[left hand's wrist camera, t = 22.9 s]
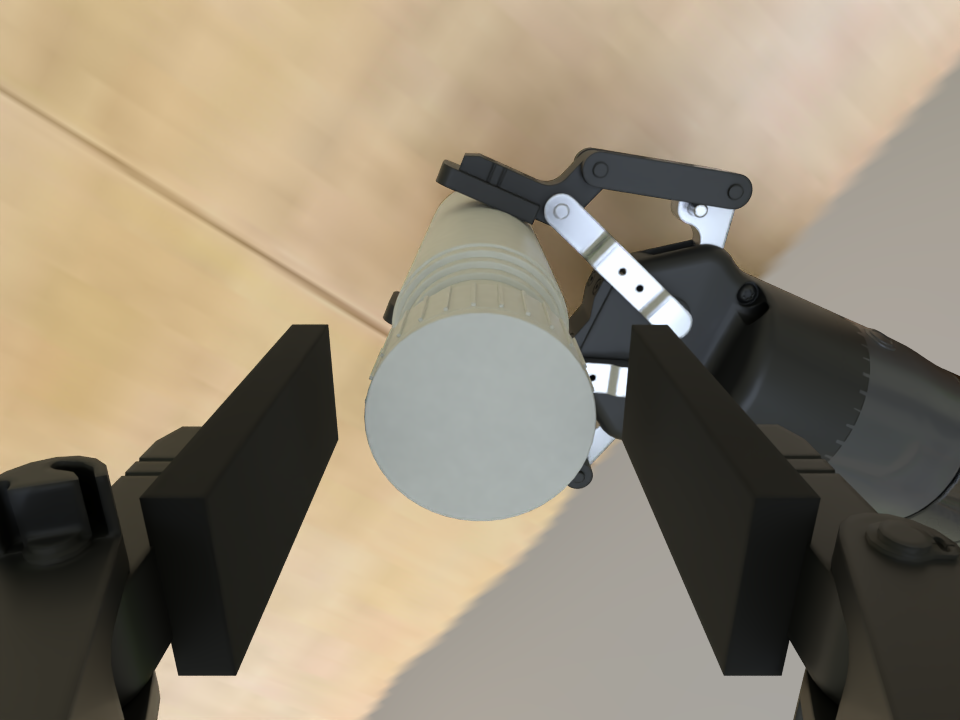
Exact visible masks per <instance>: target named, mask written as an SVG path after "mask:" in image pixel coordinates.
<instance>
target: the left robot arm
mask: <svg viewBox="0 0 960 720" xmlns="http://www.w3.org/2000/svg"><path fill="white" fill-rule="evenodd" d="M337 441H338V430H337V418H336V407H335V396H334V385H333V373H332V362H331V351H330V339H329V328H328V325H292V326H291V327H290V328H289V329H288V330H287V331H286V332H285V333H284V335H283V336H282V337H281V338H280V339H279V340H278V341H277V343H276V344H275V345H274V346H273V347H272V348H271V349H270V350H269V352H268V353H267V354H266V355H265V356H264V357H263V358H262V359H261V361H260V362H259V363H258V364H257V365H256V366H255V367H254V369H253V370H252V371H251V372H250V373H249V374H248V375H247V376H246V378H245V379H244V380H243V381H242V382H241V383H240V384H239V386H238V387H237V388H236V389H235V390H234V391H233V392H232V393H231V395H230V396H229V397H228V398H227V399H226V400H225V401H224V403H223V404H222V405H221V406H220V407H219V408H218V409H217V410H216V412H215V413H214V414H213V415H212V416H211V417H210V418H209V419H208V421H207V422H206V423H205V424H204V425H203V426H202V427H181V428H179V429H177V430H175V431H174V432H172V433H170V434H168V435H166V436H165V437H163V438H161V439H159V440H157V441H156V442H155V443H154V444H153V445H152V446H151V447H150V448H149V449H148V450H147V451H146V452H145V453H144V454H143V455H142V456H141V457H140V458H139V462H138V461H136V462H135V463H134V464H133V465H132V466H131V467H130V468H129V469H128V470H127V471H126V472H125V476H121V477H120V478H119V479H118V480H117V481H116V482H115V483H114V484H113V485H112V486H111V484H110V479H109V475H108V471H107V467H106V465H105V464H104V463H102V462H101V461H99V460H98V459H96V458H90V457H83V456H68V457H55V458H50V459H45V460H41V461H36V462H31V463H28V464H26V465H23V466H20V467H17V468H14V469H12V470H9V471H6V472H4V473H2V474H1V475H0V720H157V717H158V710H159V704H160V693H159V686H158V681H157V677H156V673H155V669H156V667H157V665H158V664H159V662H160V660H161V659H162V657H163V655H164V653H165V652H166V650H167V648H168V647H169V645H170V643H171V644H172V649H173V653H174V658H175V662H176V667H177V671H178V676H236V675H237V672H238V670H239V668H240V665H241V663H242V661H243V658H244V656H245V654H246V651H247V649H248V647H249V644H250V642H251V640H252V638H253V635H254V633H255V631H256V628H257V626H258V624H259V621H260V619H261V617H262V614H263V612H264V610H265V608H266V605H267V603H268V601H269V598H270V596H271V594H272V591H273V589H274V587H275V584H276V582H277V580H278V578H279V575H280V573H281V571H282V568H283V566H284V564H285V561H286V559H287V557H288V554H289V552H290V550H291V547H292V545H293V543H294V541H295V538H296V536H297V534H298V531H299V529H300V527H301V524H302V522H303V520H304V517H305V515H306V513H307V511H308V508H309V506H310V504H311V501H312V499H313V497H314V494H315V492H316V490H317V487H318V485H319V483H320V481H321V478H322V476H323V474H324V471H325V469H326V467H327V464H328V462H329V460H330V457H331V455H332V453H333V450H334V448H335V446H336V444H337ZM622 441H623V444H624V446H625V448H626V450H627V453H628V455H629V457H630V460H631V462H632V464H633V467H634V469H635V471H636V474H637V476H638V478H639V480H640V483H641V485H642V487H643V490H644V492H645V494H646V497H647V499H648V501H649V504H650V506H651V508H652V510H653V513H654V515H655V517H656V520H657V522H658V524H659V527H660V529H661V531H662V534H663V536H664V538H665V540H666V543H667V545H668V547H669V550H670V552H671V554H672V557H673V559H674V561H675V564H676V566H677V568H678V571H679V573H680V575H681V577H682V580H683V582H684V584H685V587H686V589H687V591H688V594H689V596H690V598H691V600H692V603H693V605H694V607H695V610H696V612H697V614H698V617H699V619H700V621H701V624H702V626H703V628H704V631H705V633H706V635H707V638H708V640H709V642H710V644H711V647H712V649H713V651H714V654H715V656H716V658H717V661H718V663H719V665H720V668H721V670H722V672H723V674H724V676H781V675H782V671H783V667H784V662H785V658H786V653H787V649H788V644H789V640H790V641H791V643H792V645H793V646H794V648H795V650H796V652H797V653H798V655H799V657H800V658H801V660H802V662H803V663H804V665H805V667H806V669H805V673H804V677H803V681H802V686H801V690H800V694H799V698H798V702H797V707H796V711H795V715H794V719H793V720H960V547H959V546H958V545H957V544H956V543H955V542H954V541H952V540H951V539H949V538H948V537H946V536H945V535H943V534H941V533H940V532H938V531H937V530H935V529H933V528H930V527H928V526H925V525H923V524H921V523H918V522H916V521H914V520H910V519H906V518H902V517H898V516H894V515H890V514H881V513H878V512H877V511H876V510H875V509H874V508H873V507H872V506H871V505H870V504H869V503H868V502H867V501H866V500H865V499H864V498H863V497H862V496H861V495H860V494H859V493H858V492H857V491H856V490H855V489H854V488H853V487H852V486H851V485H850V484H849V483H848V482H847V481H846V480H845V479H844V478H843V477H842V476H841V475H840V474H836V473H835V469H834V468H833V467H832V466H831V465H830V464H829V463H828V462H827V461H826V460H825V459H821V455H820V454H819V453H818V452H817V451H816V450H815V449H814V448H813V447H812V446H811V445H810V444H809V443H808V442H807V441H806V440H805V439H804V438H802V437H800V436H798V435H796V434H795V433H793V432H791V431H789V430H787V429H785V428H784V427H782V426H780V425H778V424H755V423H754V422H753V421H752V419H751V418H750V417H749V416H748V415H747V414H746V413H745V412H744V410H743V409H742V408H741V407H740V406H739V405H738V404H737V402H736V401H735V400H734V399H733V398H732V397H731V396H730V395H729V393H728V392H727V391H726V390H725V389H724V388H723V387H722V386H721V384H720V383H719V382H718V381H717V380H716V379H715V378H714V376H713V375H712V374H711V373H710V372H709V371H708V370H707V369H706V367H705V366H704V365H703V364H702V363H701V362H700V361H699V359H698V358H697V357H696V356H695V355H694V354H693V353H692V352H691V350H690V349H689V348H688V347H687V346H686V345H685V344H684V342H683V341H682V340H681V339H680V338H679V337H678V336H677V335H676V333H675V332H674V331H673V330H672V329H671V328H670V327H669V326H668V325H632V328H631V339H630V351H629V362H628V373H627V385H626V396H625V407H624V418H623V430H622Z"/></svg>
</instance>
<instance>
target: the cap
mask: <svg viewBox="0 0 960 720" xmlns="http://www.w3.org/2000/svg"><path fill="white" fill-rule="evenodd" d="M586 368H587V365H586V363H585V360H584V358H583V356H582V353H581V351H580V348H579V346H578V344H577V341H576V339H575V337H574V338H571V336H570V334H569V332H568V330H567V327H566V325H565V322H564V320H563V319H562V318H561V319H559V318H558V317H557V316H556V315H555V314H554V313H553V312H552V311H551V310H550V309H549V308H548V306H547V304H546V303H545V302H543V303H541V302H539V301H538V300H536V299H534V298H532V297H531V296H529V295H527V294H526V292H525V291H524V290H522V291H521V292H520V291H517V290H515V289H511V288H507V287H503V286H502V285H501V284H500V283H497V285H490V284H476V282H472V284H471V285H463V286H457V287H454V288H452V287H451V286H448V287H447V289H446V290H444V291H441V292H439V293H436V294H434V295H432V296H430V297H429V296H428V295H427V296H425V297H424V300H423V301H422V302H420V303H419V304H418V305H416V306H415V307H414V308H412V309H411V310H410V311H409V310H408V309H407V310H406V311H405V313H404V316H403V318H402V319H401V321H400V322H399V323H398V325H397V326H396V327H395V329H394V328H393V327H392V328H391V330H390V332H389V334H388V337H387V339H386V342H385V344H384V346H383V348H382V349H381V351H380V353H379V356H378V358H377V361H376V363H375V365H374V368H373V370H372V372H371V375H370V378H369V379H370V380H372V381H371V384H370V386H369V389H368V393H367V397H366V399H365V416H364V418H365V431H366V435H367V439H368V444H369V446H370V449H371V452H372V454H373V457H374V459H375V460H376V462H377V464H378V466H379V468H380V469H381V471H382V472H383V473H384V475H385V476H386V478H387V479H388V480H389V481H390V482H391V483H392V484H393V485H394V486H395V487H396V489H397V490H399V491H400V492H401V493H402V494H404V495H405V496H406V497H407V498H408V499H410V500H412V501H413V502H415V503H416V504H418V505H420V506H421V507H424V508H426V509H428V510H430V511H432V512H435V513H438V514H440V515H443V516H446V517H451V518H455V519H460V520H470V521H492V520H500V519H506V518H510V517H514V516H518V515H521V514H523V513H526V512H529V511H531V510H533V509H535V508H537V507H539V506H541V505H543V504H545V503H546V502H548V501H549V500H551V499H552V498H554V497H555V496H556V495H557V494H559V493H560V492H561V491H562V490H563V489H565V487H566V486H567V485H568V484H569V483H570V482H571V481H572V480H573V479H574V478H575V476H576V475H577V473H578V472H579V471H580V469H581V468H582V466H583V464H584V462H585V460H586V458H587V456H588V454H589V452H590V449H591V446H592V443H593V439H594V434H595V430H596V404H595V398H594V394H593V392H594V391H595V390H594V386H593V384H592V382H591V379H590V377H589V374H588V372H587V369H586Z"/></svg>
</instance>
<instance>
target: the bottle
mask: <svg viewBox="0 0 960 720" xmlns="http://www.w3.org/2000/svg"><path fill="white" fill-rule="evenodd" d="M472 282H476V284H490V285H497V283H500V284H501V285H502V286H503V287H507V288H511V289H515V290H517V291H520V292H521V291H522V290H524V291H525V292H526V294H527V295H529V296H531V297H532V298H534V299H536V300H538V301H539V302H541V303H543V302H545V303H546V304H547V306H548V308H549V309H550V310H551V311H552V312H553V313H554V314H555V315H556V316H557V317H558V318H559V319H561V318H562V319H563V320H564V322H565V325H566V327H567V330H568V332H569V318H568V312H567V307H566V304H565V300H564V297H563V295H562V293H561V291H560V288H559V286H558V284H557V282H556V279H555V277H554V275H553V273H552V271H551V268H550V266H549V264H548V262H547V259H546V257H545V255H544V253H543V250H542V248H541V246H540V244H539V241H538V239H537V237H536V235H535V233H534V230H533V228H532V226H531V224H529V223H527V222H525V221H522V220H520V219H518V218H516V217H513V216H512V215H510V214H508V213H505V212H502V211H500V210H497V209H495V208H493V207H491V206H488V205H486V204H484V203H481V202H479V201H477V200H475V199H472V198H470V197H468V196H465V195H463V194H461V193H459V192H456V191H455V192H454V193H452V194H451V195H449V196H448V197H447V198H446V199H445V200H444V201H443V202H442V203H441V204H440V206H439V207H438V209H437V211H436V213H435V215H434V217H433V219H432V221H431V224H430V226H429V228H428V230H427V233H426V235H425V237H424V239H423V241H422V244H421V246H420V248H419V250H418V253H417V255H416V257H415V259H414V262H413V264H412V266H411V268H410V270H409V273H408V275H407V277H406V279H405V282H404V284H403V286H402V288H401V290H400V293H399V295H398V297H397V300H396V303H395V307H394V311H393V318H392V327H393V328H394V329H395V327H396V326H397V325H398V323H399V322H400V321H401V319H402V318H403V316H404V313H405V311H406V310H407V309H408V310H409V311H410V310H411V309H412V308H414V307H415V306H416V305H418V304H419V303H420V302H422V301H423V300H424V297H425V296H427V295H428V296H429V297H430V296H432V295H434V294H436V293H439V292H441V291H444V290H446V289H447V287H448V286H451V287H452V288H454V287H457V286H463V285H471V284H472Z"/></svg>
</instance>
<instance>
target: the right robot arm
mask: <svg viewBox="0 0 960 720" xmlns="http://www.w3.org/2000/svg"><path fill="white" fill-rule="evenodd" d="M436 182H438V183H439V184H441V185H443V186H445V187H447V188H449V189H452V190H454V191H456V192H459V193H461V194H463V195H465V196H468V197H470V198H472V199H475V200H477V201H479V202H481V203H484V204H486V205H488V206H491V207H493V208H495V209H497V210H500V211H502V212H505V213H508V214H510V215H512V216H513V217H516V218H518V219H520V220H522V221H525V222H527V223H529V224H533V222H534V220H535V219H536V220H539V221H541V222H543V223H545V224H548V225H550V226H552V227H553V228H554V229H555V230H556V231H557V232H558V233H559V234H560V235H561V236H562V237H563V238H564V239H565V240H566V241H567V242H568V243H569V244H570V245H571V246H572V247H573V248H575V249H576V250H577V251H578V252H579V253H580V254H581V255H582V256H583V257H584V258H585V259H586V261H587V262H588V263H589V264H590V265H591V266H592V267H593V268H594V269H593V271H592V273H591V276H590V278H589V280H588V282H587V284H586V287H585V291H584V296H583V301H582V304H581V306H580V307H579V308H578V309H577V310H576V312H575V313H574V314H573V315H572V316H571V317H570V318H569V334H570V336H571V338H574V337H575V339H576V341H577V344H578V346H579V348H580V351H581V353H582V356H583V358H584V360H585V363H586V365H587V368H586V369H587V372H588V374H589V377H590V379H591V382H592V384H593V386H594V390H595V391H594V392H593V394H594V398H595V404H596V430H595V434H594V439H593V443H592V446H591V449H590V452H589V454H588V456H587V458H586V460H585V462H584V464H583V466H582V468H581V469H580V471H579V472H578V473H577V475H576V476H575V478H574V479H573V480H572V481H571V482H570V483H569V484H568V486H569V487H571V488H575V489H580V488H583V487H585V486H587V485H588V484H589V483H590V482H591V480H592V478H593V473H592V470H591V466H590V465H591V464H592V463H593V462H594V461H595V460H596V459H597V458H598V457H599V456H600V454H601V453H602V452H603V451H604V450H605V449H606V448H607V447H608V446H609V445H610V444H611V443H612V442H613V441H614V440H615V439H620V440H622V430H623V418H624V407H625V396H626V385H627V373H628V362H629V351H630V339H631V328H632V325H668V326H669V327H670V328H671V329H672V330H673V331H674V332H675V333H676V335H677V336H678V337H679V338H680V339H681V340H682V341H683V342H684V344H685V345H686V346H687V347H688V348H689V349H690V350H691V352H692V353H693V354H694V355H695V356H696V357H697V358H698V359H699V361H700V362H701V363H702V364H703V365H704V366H705V367H706V369H707V370H708V371H709V372H710V373H711V374H712V375H713V376H714V378H715V379H716V380H717V381H718V382H719V383H720V384H721V386H722V387H723V388H724V389H725V390H726V391H727V392H728V393H729V395H730V396H731V397H732V398H733V399H734V400H735V401H736V402H737V404H738V405H739V406H740V407H741V408H742V409H743V410H744V412H745V413H746V414H747V415H748V416H749V417H750V418H751V419H752V421H753V422H754V423H755V424H778V425H780V426H782V427H784V428H785V429H787V430H789V431H791V432H793V433H795V434H796V435H798V436H800V437H802V438H804V439H805V440H806V441H807V442H808V443H809V444H810V445H811V446H812V447H813V448H814V449H815V450H816V451H817V452H818V453H819V454H820V455H821V459H825V460H826V461H827V462H828V463H829V464H830V465H831V466H832V467H833V468H834V469H835V473H836V474H840V475H841V476H842V477H843V478H844V479H845V480H846V481H847V482H848V483H849V484H850V485H851V486H852V487H853V488H854V489H855V490H856V491H857V492H858V493H859V494H860V495H861V496H862V497H863V498H864V499H865V500H866V501H867V502H868V503H869V504H870V505H871V506H872V507H873V508H874V509H875V510H876V511H877V512H878V513H881V514H890V515H894V516H898V517H902V518H906V519H910V520H914V521H916V522H918V523H921V524H923V525H925V526H928V527H930V528H933V529H935V530H937V531H938V532H940V533H941V534H943V535H945V536H946V537H948V538H949V539H951V540H952V541H954V542H955V543H956V544H957V545H958V546H959V547H960V376H958V375H956V374H954V373H952V372H949V371H947V370H945V369H942V368H940V367H938V366H936V365H935V364H933V363H932V362H930V361H928V360H927V359H925V358H924V357H922V356H921V355H920V354H918V353H917V352H915V351H913V350H912V349H910V348H909V347H907V346H905V345H903V344H901V343H899V342H897V341H895V340H893V339H891V338H889V337H887V336H886V335H884V334H883V333H881V332H879V331H877V330H875V329H871V328H867V327H865V326H862V325H860V324H858V323H856V322H853V321H851V320H849V319H847V318H844V317H842V316H840V315H838V314H835V313H833V312H831V311H829V310H827V309H824V308H822V307H820V306H818V305H815V304H813V303H811V302H809V301H807V300H804V299H802V298H800V297H798V296H795V295H793V294H791V293H789V292H787V291H784V290H782V289H780V288H778V287H775V286H773V285H771V284H769V283H767V282H764V281H762V280H760V279H758V278H756V277H753V276H751V275H749V274H747V273H745V272H743V271H741V270H740V269H739V268H738V266H737V265H736V264H735V262H734V261H733V259H732V257H731V256H730V255H729V254H728V252H726V251H725V250H724V249H723V248H724V245H725V242H726V238H727V235H728V231H729V228H730V225H731V221H732V218H733V214H734V211H735V209H739V208H741V207H743V206H744V205H745V204H746V203H747V202H748V201H749V199H750V197H751V195H752V184H751V182H750V180H749V179H748V178H747V177H746V176H744V175H741V174H737V173H733V172H729V171H725V170H721V169H716V168H711V167H705V166H699V165H693V164H687V163H681V162H675V161H668V160H662V159H656V158H650V157H644V156H638V155H632V154H626V153H620V152H614V151H608V150H602V149H596V148H585V149H583V150H581V151H580V152H579V153H578V154H577V155H576V157H575V159H574V162H573V163H572V164H571V165H570V166H569V167H568V168H567V169H566V170H565V171H564V172H563V173H562V174H561V175H560V176H559V177H558V178H556V179H554V180H551V181H540V180H538V179H535V178H533V177H531V176H529V175H526V174H524V173H522V172H520V171H518V170H515V169H513V168H511V167H509V166H506V165H504V164H502V163H500V162H498V161H495V160H493V159H491V158H489V157H486V156H484V155H482V154H476V153H465V155H464V158H463V160H462V163H461V165H458V164H456V163H454V162H451V161H448V160H444V162H443V164H442V166H441V169H440V171H439V174H438V176H437V179H436ZM602 189H608V190H614V191H620V192H626V193H632V194H638V195H644V196H651V197H657V198H663V199H669V200H672V202H671V210H672V213H673V215H674V216H675V217H676V218H677V219H679V220H681V221H683V222H685V223H687V224H689V225H690V226H691V228H692V231H693V239H692V240H688V241H684V242H679V243H675V244H670V245H666V246H661V247H656V248H652V249H647V250H643V251H638V252H634V253H628V252H627V251H626V250H625V249H624V248H623V247H622V246H621V245H620V244H619V243H618V242H617V241H616V240H615V239H614V238H613V237H612V236H611V235H610V234H609V233H608V232H607V231H606V230H605V229H604V228H603V227H602V226H601V225H600V224H599V223H598V222H597V221H596V220H595V219H594V218H593V217H592V216H591V215H590V214H589V213H588V212H587V211H586V210H585V209H584V207H585V206H586V205H587V204H588V203H589V202H590V201H591V200H592V199H593V198H594V197H595V196H596V195H597V194H598V193H599V192H600V191H601V190H602ZM399 293H400V292H398V291H396V292H393V295H392V297H391V299H390V301H389V303H388V306H387V309H386V311H385V314H384V316H383V318H384V320H385V321H386V322H388V323H389V324H391V325H392V318H393V311H394V307H395V303H396V300H397V297H398V295H399Z"/></svg>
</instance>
